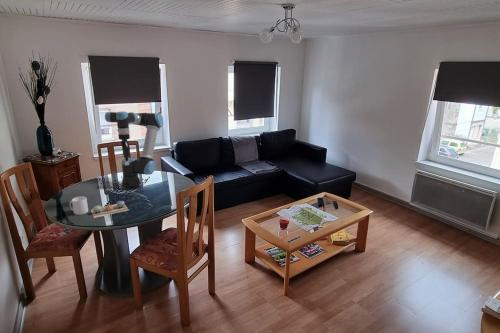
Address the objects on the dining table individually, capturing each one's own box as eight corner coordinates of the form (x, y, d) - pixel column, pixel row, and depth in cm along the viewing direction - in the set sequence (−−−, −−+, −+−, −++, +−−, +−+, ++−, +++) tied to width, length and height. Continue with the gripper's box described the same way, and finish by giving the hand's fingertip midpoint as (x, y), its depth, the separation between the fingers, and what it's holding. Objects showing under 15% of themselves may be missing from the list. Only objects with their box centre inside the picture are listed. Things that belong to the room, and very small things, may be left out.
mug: (75, 209, 215) (73, 195, 212) (91, 211, 213) (89, 196, 210) (66, 215, 207) (64, 200, 204) (83, 216, 205) (80, 201, 202)
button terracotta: (105, 210, 214) (104, 205, 213) (112, 209, 217) (112, 204, 216) (106, 213, 210) (106, 208, 209) (114, 211, 213) (113, 206, 212)
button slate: (116, 206, 218) (116, 201, 217) (123, 205, 221) (123, 200, 219) (118, 209, 214) (117, 204, 213) (125, 207, 217) (124, 202, 216)
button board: (90, 211, 214) (90, 209, 213) (123, 204, 226) (123, 202, 225) (94, 219, 202) (94, 217, 201) (129, 211, 214) (129, 210, 213)
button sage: (93, 211, 210) (92, 206, 209) (101, 209, 212) (100, 204, 211) (94, 214, 206) (93, 209, 205) (102, 212, 209) (101, 207, 207)
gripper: (116, 132, 225) (119, 163, 232) (120, 135, 215) (123, 168, 222) (126, 131, 229) (129, 161, 236) (131, 134, 219) (134, 166, 226)
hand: (127, 164), depth 229 cm, fingers closed
